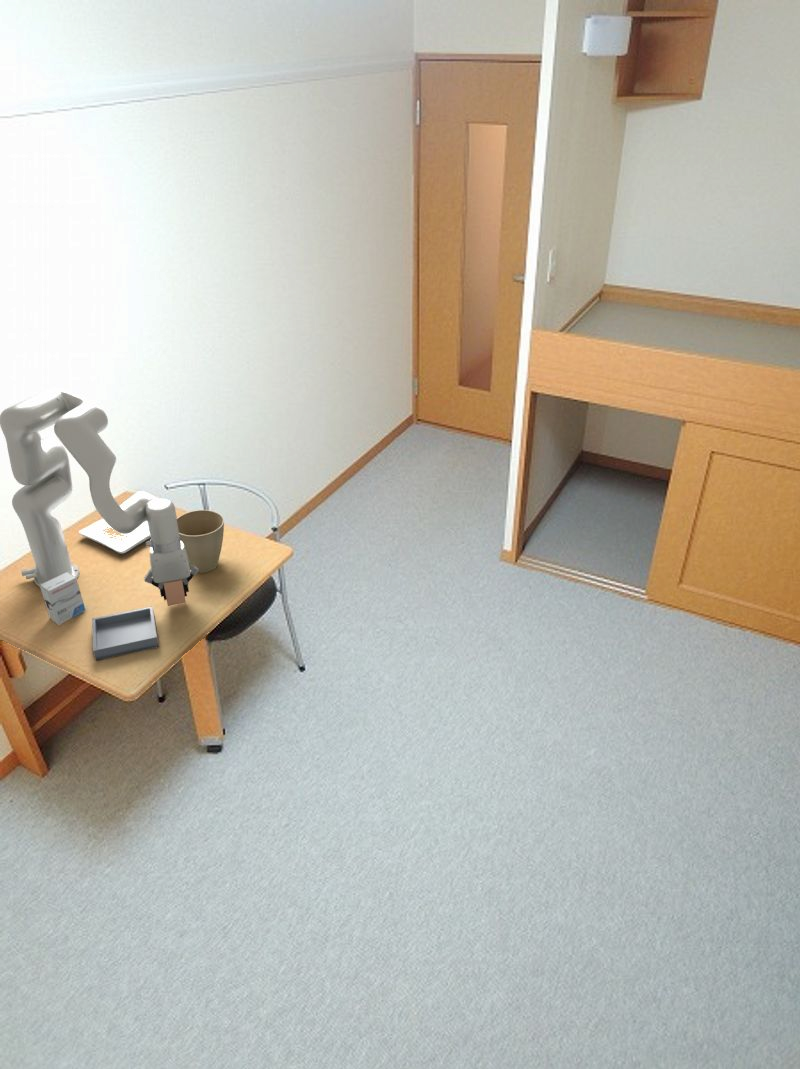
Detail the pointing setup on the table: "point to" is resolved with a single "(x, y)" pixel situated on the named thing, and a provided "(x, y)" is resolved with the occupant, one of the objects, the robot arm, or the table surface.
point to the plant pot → (202, 537)
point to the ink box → (62, 597)
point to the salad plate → (117, 544)
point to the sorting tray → (124, 633)
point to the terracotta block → (174, 592)
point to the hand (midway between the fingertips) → (175, 595)
